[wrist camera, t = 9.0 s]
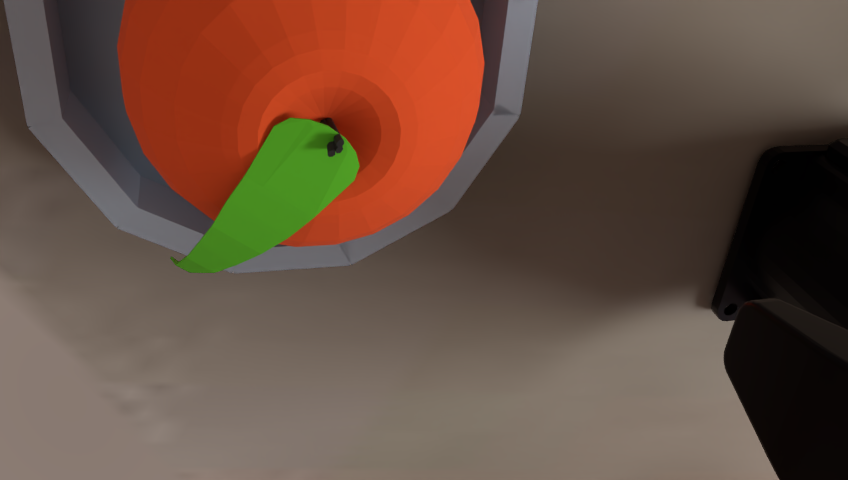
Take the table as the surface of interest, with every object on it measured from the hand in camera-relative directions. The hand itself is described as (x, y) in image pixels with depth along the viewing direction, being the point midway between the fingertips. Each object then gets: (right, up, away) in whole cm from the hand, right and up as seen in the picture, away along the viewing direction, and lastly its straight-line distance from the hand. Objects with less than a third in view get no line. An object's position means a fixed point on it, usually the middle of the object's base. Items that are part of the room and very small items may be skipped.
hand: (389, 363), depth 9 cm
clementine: (-3, +6, +10) cm, 12 cm away
